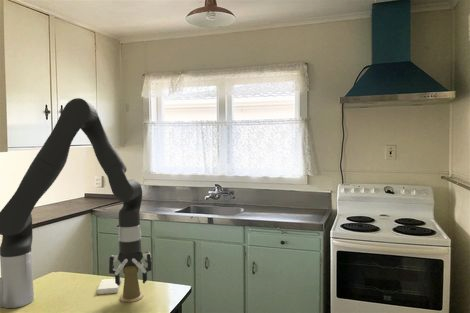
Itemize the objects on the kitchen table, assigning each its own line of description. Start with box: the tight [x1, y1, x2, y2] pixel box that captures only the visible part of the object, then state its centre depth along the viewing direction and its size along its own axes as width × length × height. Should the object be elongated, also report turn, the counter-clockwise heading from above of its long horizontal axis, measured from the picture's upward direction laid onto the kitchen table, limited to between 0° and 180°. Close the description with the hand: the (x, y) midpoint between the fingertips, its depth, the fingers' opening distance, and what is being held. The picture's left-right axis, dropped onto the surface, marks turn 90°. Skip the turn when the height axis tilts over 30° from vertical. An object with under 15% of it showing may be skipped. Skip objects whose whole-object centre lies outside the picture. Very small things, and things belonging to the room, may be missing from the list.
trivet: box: [119, 290, 145, 303], centre depth 129 cm, size 8×8×1 cm
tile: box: [97, 277, 122, 295], centre depth 137 cm, size 7×2×9 cm
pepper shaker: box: [122, 266, 141, 299], centre depth 129 cm, size 6×6×11 cm
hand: (131, 283), depth 129 cm, fingers open, 8 cm apart
